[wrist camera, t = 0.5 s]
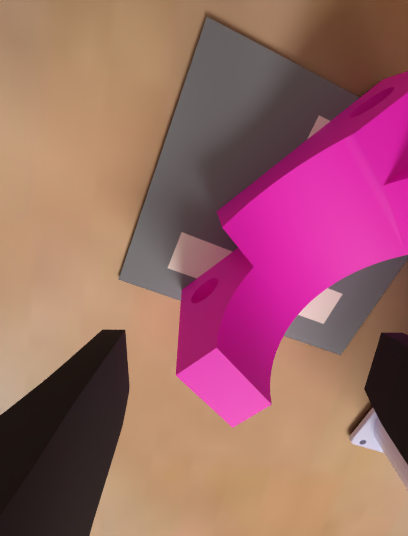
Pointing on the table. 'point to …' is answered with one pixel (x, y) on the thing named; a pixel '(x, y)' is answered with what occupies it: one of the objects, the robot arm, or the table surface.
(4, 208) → the table surface
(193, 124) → the board
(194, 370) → the toy block
